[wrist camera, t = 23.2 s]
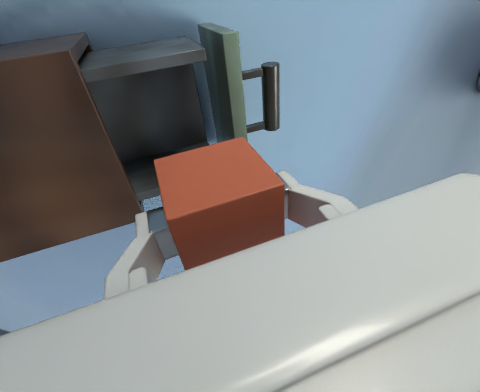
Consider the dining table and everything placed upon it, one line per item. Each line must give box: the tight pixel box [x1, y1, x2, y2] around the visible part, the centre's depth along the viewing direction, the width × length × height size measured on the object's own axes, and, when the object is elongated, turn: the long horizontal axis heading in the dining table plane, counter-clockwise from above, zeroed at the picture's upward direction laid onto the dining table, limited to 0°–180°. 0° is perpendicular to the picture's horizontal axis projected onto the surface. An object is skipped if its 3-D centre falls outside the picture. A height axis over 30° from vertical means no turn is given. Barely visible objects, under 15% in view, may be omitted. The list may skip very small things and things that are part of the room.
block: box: [154, 137, 285, 271], centre depth 13 cm, size 5×5×5 cm
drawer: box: [78, 23, 279, 201], centre depth 24 cm, size 19×12×8 cm, turn 95°
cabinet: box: [0, 32, 144, 262], centre depth 22 cm, size 16×14×10 cm
